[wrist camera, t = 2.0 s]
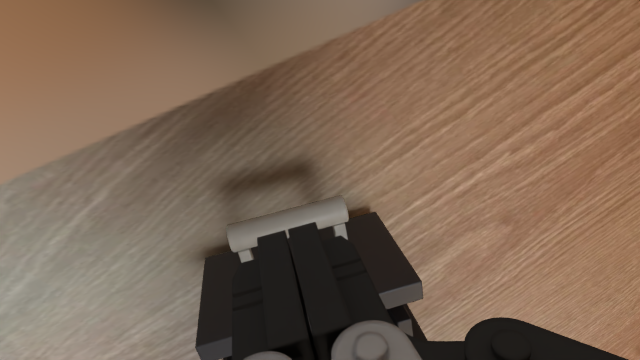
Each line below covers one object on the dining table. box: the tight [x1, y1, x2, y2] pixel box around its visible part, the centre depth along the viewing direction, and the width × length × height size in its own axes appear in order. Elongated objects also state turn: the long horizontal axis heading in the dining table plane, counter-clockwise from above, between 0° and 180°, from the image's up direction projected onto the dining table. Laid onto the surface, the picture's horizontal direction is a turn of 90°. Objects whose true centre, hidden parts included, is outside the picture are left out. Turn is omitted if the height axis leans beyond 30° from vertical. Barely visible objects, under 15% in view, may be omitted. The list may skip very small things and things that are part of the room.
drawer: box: [195, 195, 423, 360], centre depth 25 cm, size 18×11×7 cm, turn 11°
